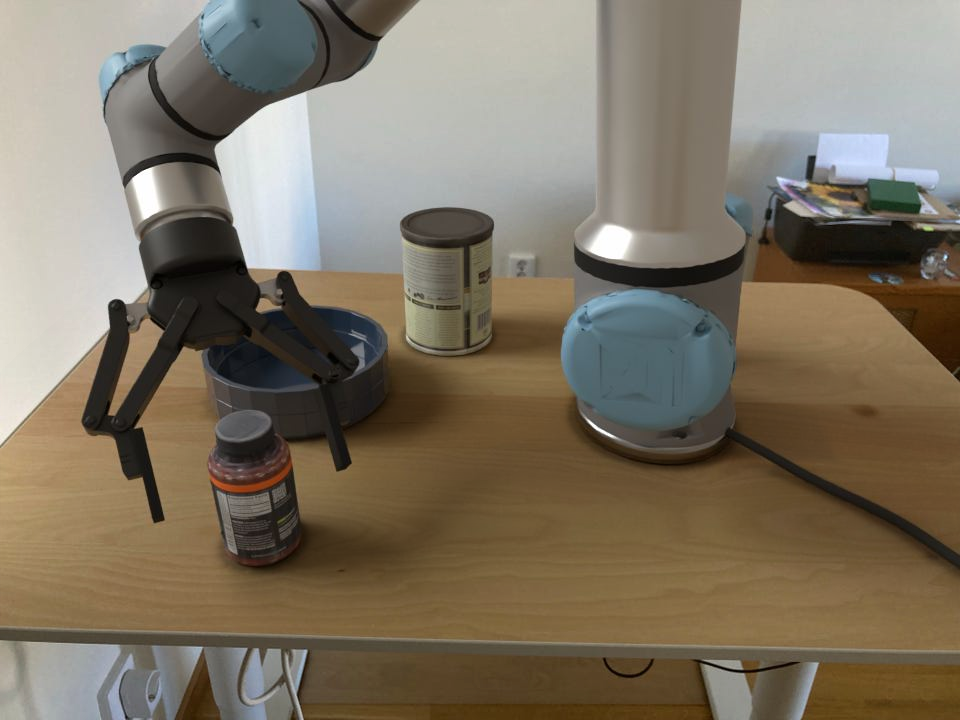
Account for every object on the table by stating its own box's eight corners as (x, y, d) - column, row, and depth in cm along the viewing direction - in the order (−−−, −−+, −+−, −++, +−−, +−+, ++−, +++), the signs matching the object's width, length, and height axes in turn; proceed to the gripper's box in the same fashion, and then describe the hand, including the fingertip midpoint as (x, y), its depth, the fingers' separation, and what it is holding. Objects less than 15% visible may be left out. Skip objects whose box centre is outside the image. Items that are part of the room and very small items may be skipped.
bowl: (426, 383, 82) (424, 337, 79) (292, 466, 69) (285, 414, 67) (309, 333, 92) (304, 291, 89) (173, 398, 79) (163, 351, 76)
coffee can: (412, 314, 96) (408, 204, 90) (494, 318, 96) (497, 208, 89) (397, 354, 88) (391, 236, 81) (488, 359, 87) (490, 240, 80)
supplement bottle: (241, 514, 64) (220, 398, 58) (312, 520, 63) (297, 403, 58) (212, 567, 59) (186, 444, 53) (289, 573, 58) (270, 450, 52)
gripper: (331, 233, 70) (400, 457, 66) (19, 280, 60) (77, 549, 56) (346, 191, 63) (424, 438, 59) (-3, 238, 53) (61, 539, 49)
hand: (256, 493), depth 57 cm, fingers open, 13 cm apart
